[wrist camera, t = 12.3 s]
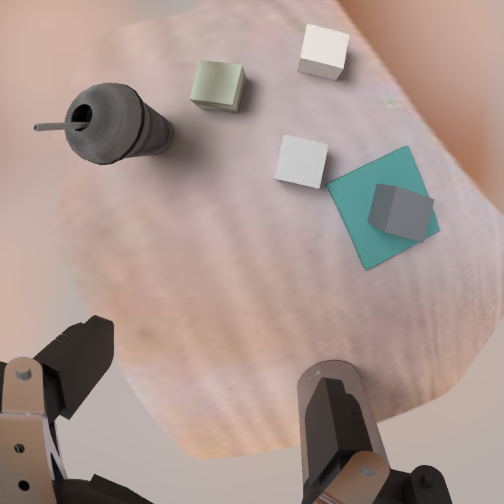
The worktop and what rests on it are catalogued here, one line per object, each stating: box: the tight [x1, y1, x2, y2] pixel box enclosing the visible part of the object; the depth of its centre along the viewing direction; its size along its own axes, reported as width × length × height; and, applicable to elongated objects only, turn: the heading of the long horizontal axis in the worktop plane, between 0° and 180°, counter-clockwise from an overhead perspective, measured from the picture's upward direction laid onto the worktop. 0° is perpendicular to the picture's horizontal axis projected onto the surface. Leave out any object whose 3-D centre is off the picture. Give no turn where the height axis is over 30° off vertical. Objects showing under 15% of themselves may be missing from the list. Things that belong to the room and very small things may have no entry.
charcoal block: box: [367, 184, 434, 243], centre depth 29 cm, size 4×4×6 cm
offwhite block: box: [297, 24, 349, 81], centre depth 27 cm, size 4×4×4 cm
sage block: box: [190, 60, 246, 113], centre depth 29 cm, size 4×4×4 cm
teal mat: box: [326, 146, 440, 270], centre depth 32 cm, size 11×11×1 cm
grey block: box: [274, 134, 328, 189], centre depth 30 cm, size 4×4×4 cm
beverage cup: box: [33, 83, 174, 165], centre depth 23 cm, size 7×7×20 cm
